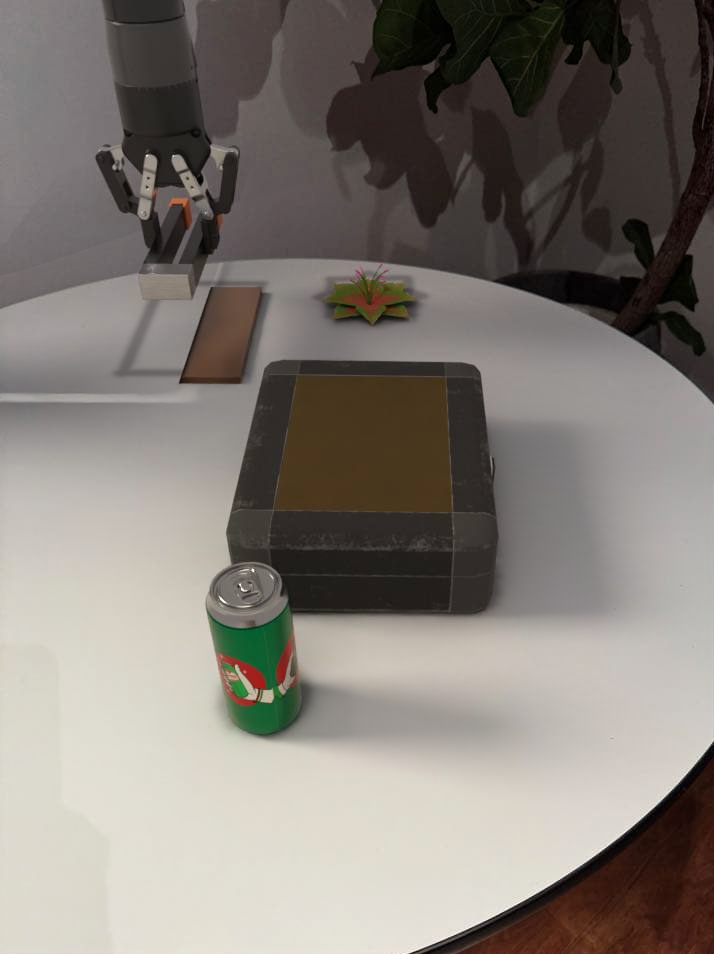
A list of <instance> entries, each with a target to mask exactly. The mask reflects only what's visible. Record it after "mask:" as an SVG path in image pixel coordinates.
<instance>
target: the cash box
mask: <svg viewBox="0 0 714 954" xmlns="http://www.w3.org/2000/svg"><path fill="white" fill-rule="evenodd" d="M481 373H482V372H481V370H480V369H478V367H477V366H476V365H475V364H471V363H467V362H462V361H415V360H413V361H410V360H409V361H407V360H403V361H402V360H342V359H341V360H340V359H337V360H336V359H335V360H334V359H332V360H331V359H280V360H275V361H271V362H270V363H268V364H267V365H266V366H265V367H264V369H263V374H262V377H261V381H260V386H259V389H258V393H257V398H256V402H255V407H254V410H253V411H254V412H253V415H252V420H251V423H250V428H249V432H248V437H247V441H246V445H245V449H244V453H243V458H242V461H241V466H240V471H239V473H238V479H237V483H236V487H235V491H234V496H233V500H232V505H231V508H230V513H229V518H228V522H227V527H226V530H225V535H226V536H225V537H226V541H227V548H228V554H229V560H230V566H231V565H233V564H237V563H242V562H258V563H263V564H266V565H268V566H270V567H272V568H273V569H274V570H276V571H277V573H278V574H279V575H280V577H281V579H282V580H283V581H284V582H285V584H286V585H287V587H288V589H289V593H290V600H291V609H292V612H348V613H349V612H350V613H351V612H353V613H354V612H355V613H356V612H357V613H423V614H424V613H429V614H430V613H431V614H434V613H435V614H473V613H476V612H480V611H482V610H485V609H486V608H487V606H488V604H489V602H490V600H491V598H492V595H493V590H494V589H493V587H494V581H495V580H494V579H495V571H496V563H497V562H496V561H497V555H498V554H497V553H498V545H499V529H498V519H497V518H498V517H497V508H496V501H495V500H496V499H495V492H494V491H495V490H494V483H495V473H496V463H495V462H496V461H495V456H494V457H492V455H491V453H490V445H489V436H488V435H489V434H488V426H487V416H486V407H485V399H484V398H485V397H484V389H483V380H482V374H481Z"/></svg>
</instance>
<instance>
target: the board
mask: <svg viewBox="0 0 714 954" xmlns="http://www.w3.org/2000/svg"><path fill="white" fill-rule="evenodd" d="M262 295H263V287H262V286H210V288H209V290H208V294H207V297H206V299H205V303H204V306H203V309H202V311H201V315H200V318H199V321H198V323H197V327H196V329H195V331H194V336H193V338H192V342H191V344H190V347H189V351H188V354H187V355H186V360H185V363H184V366H183V369H182V372H181V375H180V377H179V381H178V384H241V383H242V379H243V376H244V375H243V374H244V371H245V367H246V363H247V358H248V354H249V351H250V346H251V341H252V337H253V333H254V328H255V325H256V320H257V318H258V317H257V316H258V312H259V307H260V305H261V304H260V303H261V299H262Z"/></svg>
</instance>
